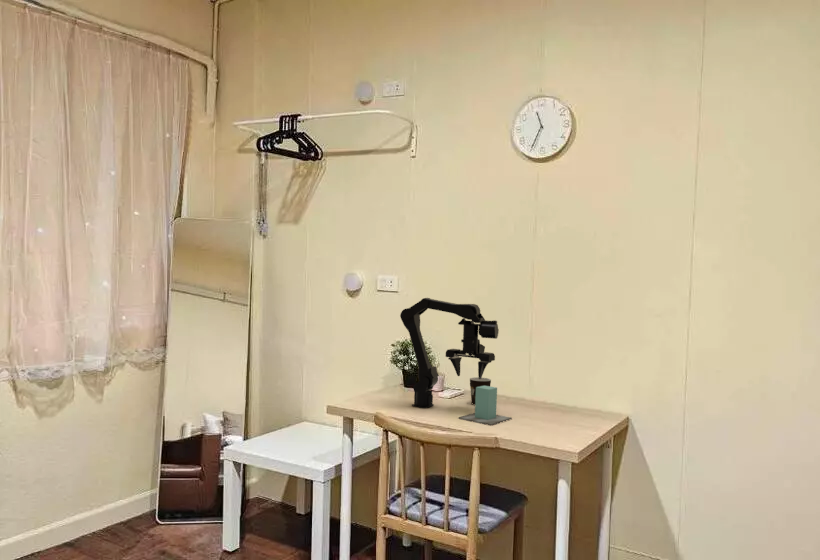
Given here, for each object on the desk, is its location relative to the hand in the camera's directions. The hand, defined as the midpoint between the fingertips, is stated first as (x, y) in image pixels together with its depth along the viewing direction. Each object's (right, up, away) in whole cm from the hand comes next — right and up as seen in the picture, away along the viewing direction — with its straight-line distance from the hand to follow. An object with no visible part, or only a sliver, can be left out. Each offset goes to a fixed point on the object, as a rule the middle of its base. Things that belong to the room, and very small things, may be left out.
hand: (469, 377), depth 256 cm
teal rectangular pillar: (+5, -13, -11) cm, 18 cm away
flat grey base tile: (+5, -14, -12) cm, 18 cm away
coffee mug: (+6, -13, +17) cm, 22 cm away
